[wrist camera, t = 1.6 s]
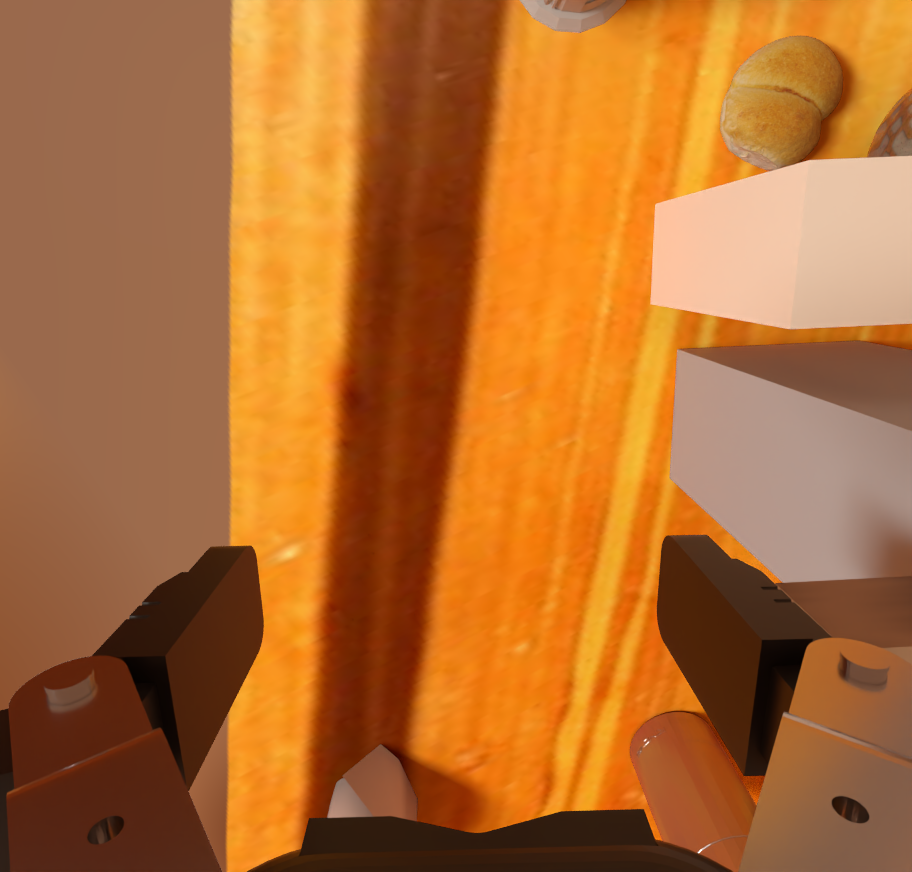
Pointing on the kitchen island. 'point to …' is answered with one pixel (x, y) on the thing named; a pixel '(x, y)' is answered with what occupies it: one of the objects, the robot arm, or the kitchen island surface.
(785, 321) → the post
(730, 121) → the bread roll
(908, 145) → the vase
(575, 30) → the french press
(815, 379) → the tall white pillar
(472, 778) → the kitchen island surface
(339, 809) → the toilet tissue
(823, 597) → the walnut bar
